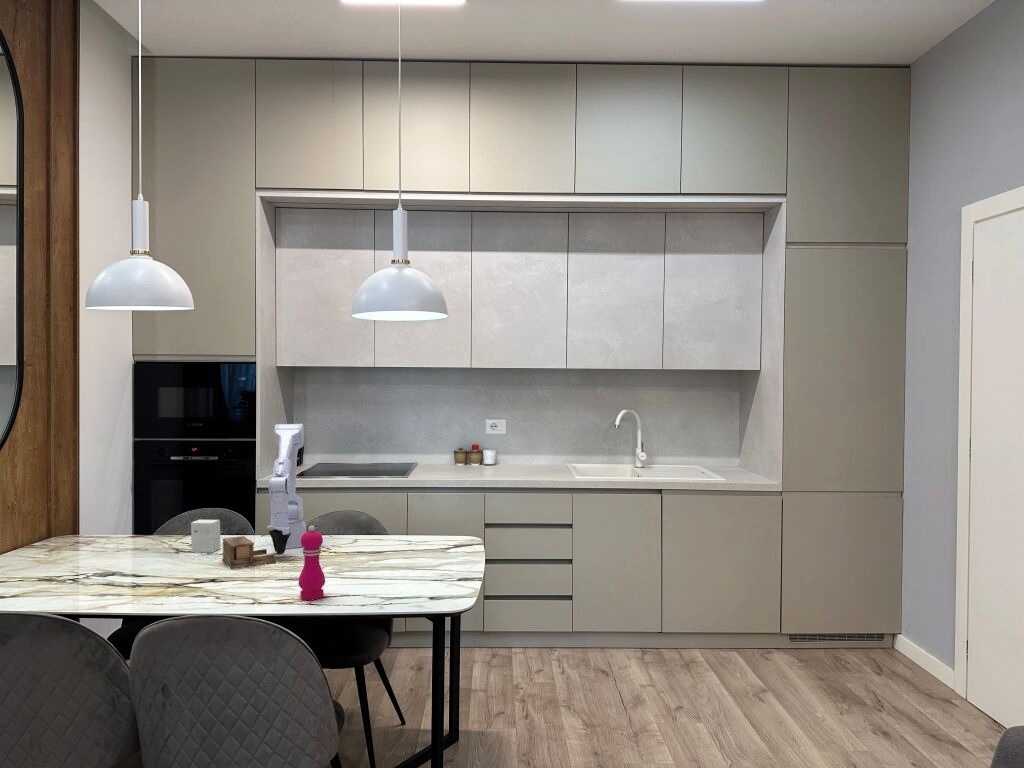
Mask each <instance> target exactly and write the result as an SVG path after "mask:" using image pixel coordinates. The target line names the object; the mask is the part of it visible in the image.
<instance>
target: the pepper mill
mask: <svg viewBox="0 0 1024 768" xmlns="http://www.w3.org/2000/svg"><path fill="white" fill-rule="evenodd" d="M323 542H324V539H323V535H322V534H321V533H320V532H319V531H316V527H315V526H314V525H310V526H308V531H306V533H304V534H303V535H302V537H301V545H302V546H303V547H302V548H303V549H302V555H303V559H304V563H303V568H302V570H301V572H300V575H299V577H298V586H299V588H300V589H301V590H300V596H299V597H301V598H302V599H301V598H300V599H301V600H303V599H306V600H305V601H313V600H312V599H317V600H319V599H318V598H320V599H322V598H323V597H324V596H323V595H324V593H325V592H324V588H323V587H324V585H325V584H326V576H325V573H324V571H323V568H322V567H321V564H320V555H321V553H322V548H321V546H322V545H323ZM321 597H322V598H321Z"/></svg>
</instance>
